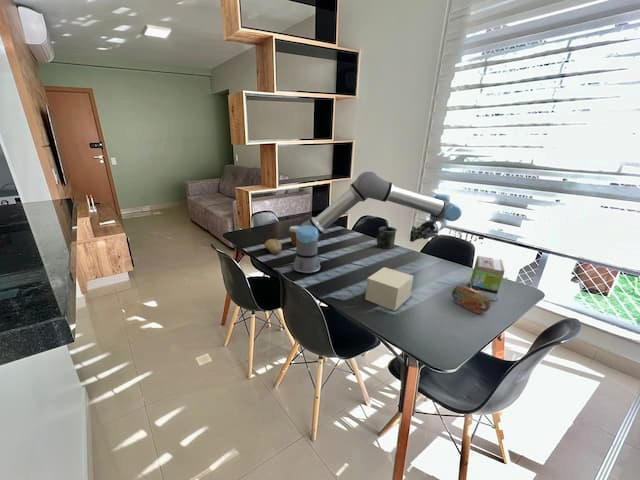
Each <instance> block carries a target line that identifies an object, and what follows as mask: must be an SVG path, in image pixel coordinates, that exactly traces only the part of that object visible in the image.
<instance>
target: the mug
mask: <svg viewBox="0 0 640 480" xmlns="http://www.w3.org/2000/svg"><path fill="white" fill-rule="evenodd" d="M396 233H397V228H395V227H393V226H380V227H378V234H377V235H376V242H377V247H379V248H381V249H385V250H386V249H387V250H388V249H393V248H394V246H395V240H396Z"/></svg>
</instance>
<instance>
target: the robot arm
mask: <svg viewBox="0 0 640 480" xmlns="http://www.w3.org/2000/svg"><path fill="white" fill-rule="evenodd" d="M450 198H451V197H450V195H449V194H440V193H439V194H435V195H433V196H432V197H431V196H428V195H425V194H421V193H419V192H416V191H412V190H408V189H405V188H402V187H399V186H396V185H394V184H393V182H391V181H388V180H385V179H384V178H381V177H380V176H379V175H378V174H377V173H375V172H373V171H365V172H362V173H360V174H359V175H358V176H357V178H356V180H354V181H353V182H352V183H351V184H350V185H349V189H348V190H347V191H345V192H344V193H343V194H341V196H339V197H338V198H337V199H336V200H335V201H333V202H332V203H331V204H330V205H329V206H327V207H326V208H325V209H324V210H323V211H322V212H320V213H319V214H318V215H317V216H312V217H310V218H308V220H305V221H303V222H302V223H301V224H300V225H299V226H300V227H299V228H298V229H297V232H296V246H295V249H296V250H295V258H294V261H293V263H288V264H283V265H278V266H277V267H278V268H284V267H291V266H292V270H293V271H294V272H296V273H298V274H302V275H303V274H304V275H312V274H316V273H319V272H320V270H321V263H320V258H319V257H318V250H319V249H318V248H319V246H318V245H319V238H321V236H322V235H324V234H325V233H326V229H327V228H328V227H329V226H331V225H332V224H333V223H334V222H336V221H337V220H339V218H341V217H342V216H343V215H345V214H346V213H347V212H348V211H350V210H351V209H352V208H353V207H355V206H356V205H357V204H358V203H359V202H362V203H363V202H365V201H366V200H368V199H372V200H376V201H379V202H383V203H386V202H391V203H393V204H397V205H400V206H404V207H407V208H410V209H413V210H417V211H420V212H423V213H426V214H429V219H428V220H426V221H425V222H423V223H422V224H421V225H420V226H417V227H416V226H414V225H412V227H411V230H410V235H409V237H410V238H409V242H411V243H414V242H415V241H417V240H422V239H423V240H427V239H431V238H434V237H438V236H439V231H442V230H444V228H445V227H446V226H447V223H448V222H455V221H458V220H459V219H460V218H461V216H462V213H463V211H462V209H461V208H460V207H459V206H458V205H457V204H454V203H452V202H451V199H450ZM447 221H448V222H447Z"/></svg>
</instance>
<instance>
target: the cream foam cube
mask: <svg viewBox="0 0 640 480" xmlns="http://www.w3.org/2000/svg"><path fill="white" fill-rule="evenodd" d="M413 280H414V275H412V274H408V273H405V272H402V271H399V270H395V269H391V268H388V267H385V266H384V267H382V268H380V269H379V270H378V271H376V272H374V273H372V274H371V275H370V276H368V277H367V279H366V285H365V286H366V288H365V289H366V290H365V295H364V300H366V301H368V302H370V303H373V304H375V305H378V306H381V307H384V308H386V309H388V310H391V311H393V312H396V311H397V310H398V309H399V308H400V307H401V306H402V305H403V304H404V303H405V302H406V301H407V300H409V299H410V298H411V293H412V287H413Z"/></svg>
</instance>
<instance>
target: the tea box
mask: <svg viewBox="0 0 640 480" xmlns="http://www.w3.org/2000/svg"><path fill="white" fill-rule="evenodd" d="M504 275H505V267H504V263H503V260H502V259H499V258H493V257H488V256H480V255H477V256H476V259H475V263H474V266H473V271H472V273H471V278H470V282H469V288H471V289H474V290H476V291H478V292H481V293H483V294H485V295H486V296H487V297H488V298H489V300H490V301H496V299H497V296H498V293H499V290H500V288H501V284H502V281H503V278H504Z"/></svg>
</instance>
